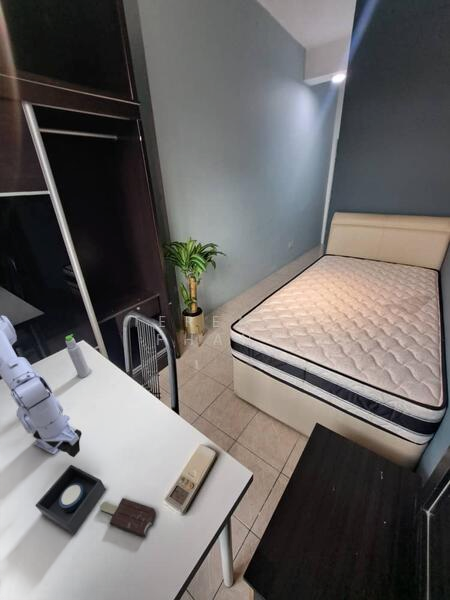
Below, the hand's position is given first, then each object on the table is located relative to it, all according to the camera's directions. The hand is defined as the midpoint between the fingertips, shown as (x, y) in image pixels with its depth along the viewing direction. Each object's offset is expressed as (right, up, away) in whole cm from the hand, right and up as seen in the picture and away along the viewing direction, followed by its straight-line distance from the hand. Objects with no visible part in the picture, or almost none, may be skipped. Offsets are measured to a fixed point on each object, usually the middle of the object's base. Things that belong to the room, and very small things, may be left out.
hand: (66, 448), depth 69 cm
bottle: (-17, +9, +38) cm, 43 cm away
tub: (+5, -12, -3) cm, 13 cm away
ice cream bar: (+19, -13, -6) cm, 24 cm away
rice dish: (+5, -12, -3) cm, 13 cm away
